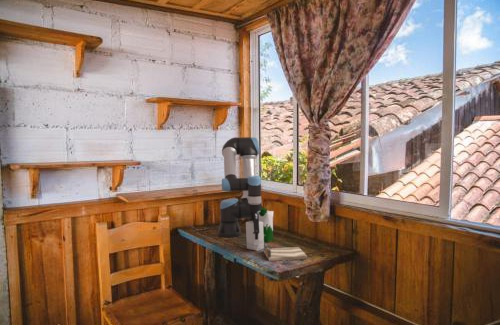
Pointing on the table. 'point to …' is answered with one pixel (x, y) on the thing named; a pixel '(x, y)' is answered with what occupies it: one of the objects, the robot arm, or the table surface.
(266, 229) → the milk carton
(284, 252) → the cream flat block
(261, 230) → the skincare box
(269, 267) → the table surface
